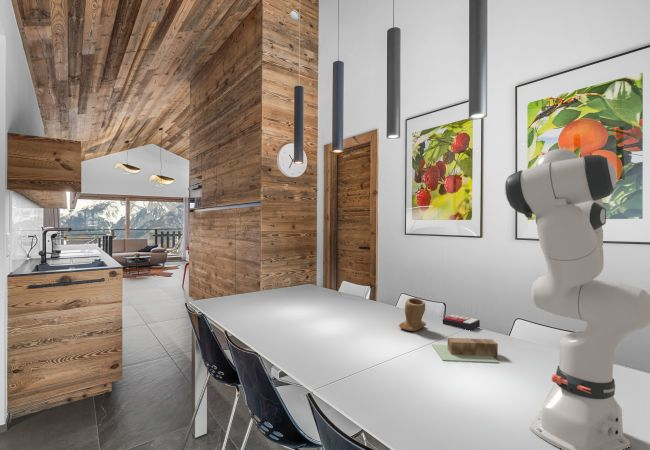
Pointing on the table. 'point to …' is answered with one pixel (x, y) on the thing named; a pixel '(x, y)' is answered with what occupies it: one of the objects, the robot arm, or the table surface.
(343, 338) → the table surface
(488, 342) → the walnut pillar
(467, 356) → the mat
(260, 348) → the table surface
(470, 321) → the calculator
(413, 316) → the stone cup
